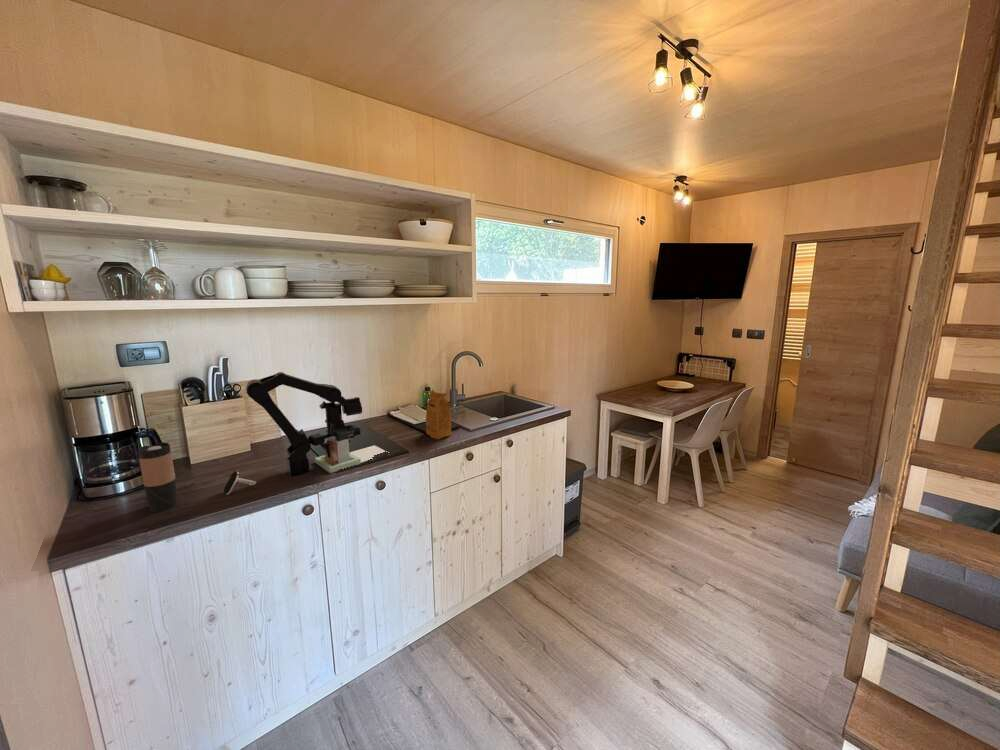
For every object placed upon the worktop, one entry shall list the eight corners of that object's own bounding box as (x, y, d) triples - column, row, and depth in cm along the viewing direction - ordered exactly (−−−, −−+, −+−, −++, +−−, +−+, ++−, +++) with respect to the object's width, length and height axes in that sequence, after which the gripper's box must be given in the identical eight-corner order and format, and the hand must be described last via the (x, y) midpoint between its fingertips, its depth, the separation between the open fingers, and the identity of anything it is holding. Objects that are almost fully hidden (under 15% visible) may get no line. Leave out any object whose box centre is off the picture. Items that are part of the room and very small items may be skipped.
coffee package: (441, 430, 200) (440, 387, 195) (454, 436, 190) (453, 391, 186) (423, 434, 194) (421, 390, 190) (435, 441, 184) (434, 395, 180)
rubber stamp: (226, 496, 132) (238, 473, 134) (222, 492, 135) (234, 469, 137) (249, 501, 138) (261, 478, 139) (245, 496, 141) (256, 474, 143)
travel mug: (168, 512, 123) (157, 451, 119) (141, 513, 123) (130, 451, 119) (185, 499, 131) (175, 442, 127) (160, 500, 130) (150, 442, 126)
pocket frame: (330, 473, 150) (329, 468, 150) (315, 463, 160) (314, 457, 159) (360, 464, 159) (360, 459, 158) (344, 454, 168) (344, 449, 168)
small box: (325, 464, 159) (322, 439, 157) (336, 459, 163) (334, 434, 161) (339, 468, 155) (336, 442, 153) (350, 463, 160) (348, 438, 158)
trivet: (361, 463, 159) (360, 462, 159) (346, 454, 168) (346, 453, 168) (390, 454, 168) (389, 453, 168) (374, 446, 177) (374, 445, 177)
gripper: (318, 427, 143) (321, 468, 146) (366, 416, 157) (368, 454, 159) (306, 421, 151) (309, 460, 154) (353, 411, 164) (355, 447, 167)
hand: (337, 455), depth 158 cm, fingers closed on small box, 6 cm apart
